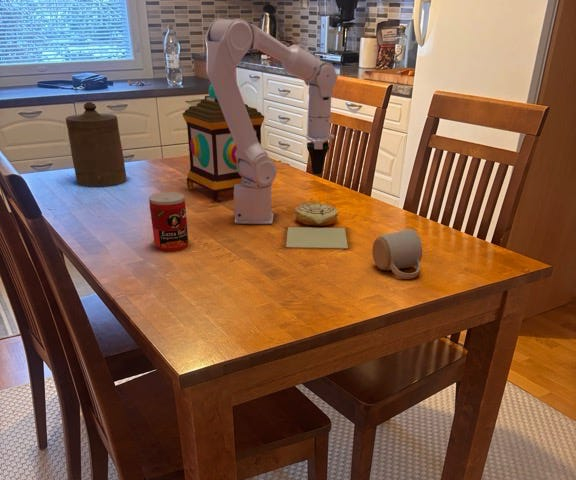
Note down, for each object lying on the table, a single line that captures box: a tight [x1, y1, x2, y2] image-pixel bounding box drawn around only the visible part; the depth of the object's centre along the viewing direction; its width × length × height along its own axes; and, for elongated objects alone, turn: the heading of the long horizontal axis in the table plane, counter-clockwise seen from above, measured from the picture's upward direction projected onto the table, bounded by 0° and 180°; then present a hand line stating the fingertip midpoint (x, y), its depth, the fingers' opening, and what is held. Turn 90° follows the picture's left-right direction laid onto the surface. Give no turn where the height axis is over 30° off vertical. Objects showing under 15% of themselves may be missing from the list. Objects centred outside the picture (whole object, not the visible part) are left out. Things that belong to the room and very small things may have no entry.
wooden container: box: [65, 101, 127, 188], centre depth 174 cm, size 15×15×22 cm
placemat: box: [285, 226, 349, 250], centre depth 137 cm, size 14×14×1 cm
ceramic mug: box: [371, 228, 423, 280], centre depth 119 cm, size 11×8×8 cm
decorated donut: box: [294, 202, 339, 227], centre depth 146 cm, size 10×11×4 cm
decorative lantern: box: [182, 84, 265, 203], centre depth 162 cm, size 20×20×30 cm
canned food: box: [148, 191, 189, 252], centre depth 129 cm, size 8×8×11 cm
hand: (317, 173), depth 151 cm, fingers closed
